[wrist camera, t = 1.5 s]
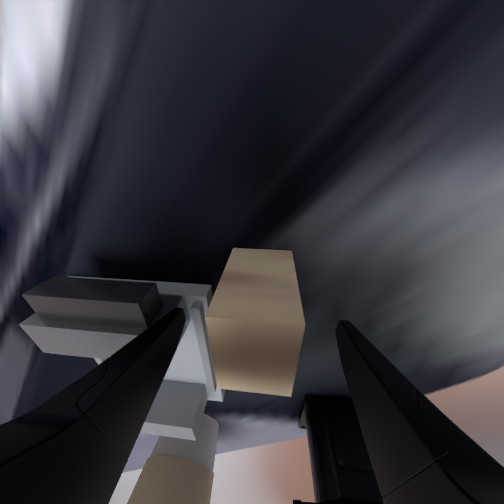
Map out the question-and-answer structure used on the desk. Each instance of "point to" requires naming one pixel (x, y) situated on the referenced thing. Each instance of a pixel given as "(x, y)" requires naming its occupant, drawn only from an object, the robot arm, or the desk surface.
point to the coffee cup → (179, 469)
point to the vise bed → (184, 368)
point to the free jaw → (93, 314)
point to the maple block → (256, 323)
